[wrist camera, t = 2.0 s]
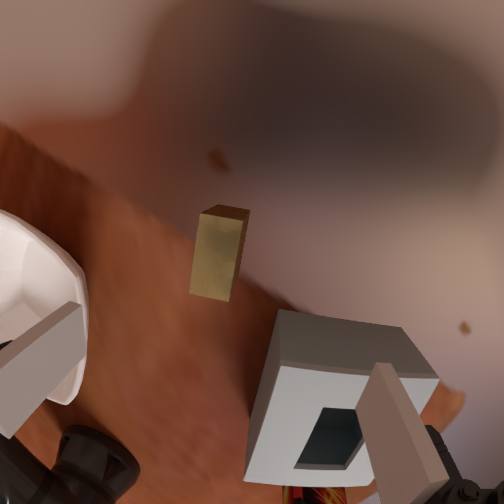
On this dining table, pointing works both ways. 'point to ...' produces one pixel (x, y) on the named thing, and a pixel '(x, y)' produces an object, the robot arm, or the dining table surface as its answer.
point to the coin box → (324, 399)
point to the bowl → (38, 288)
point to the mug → (313, 495)
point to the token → (218, 251)
